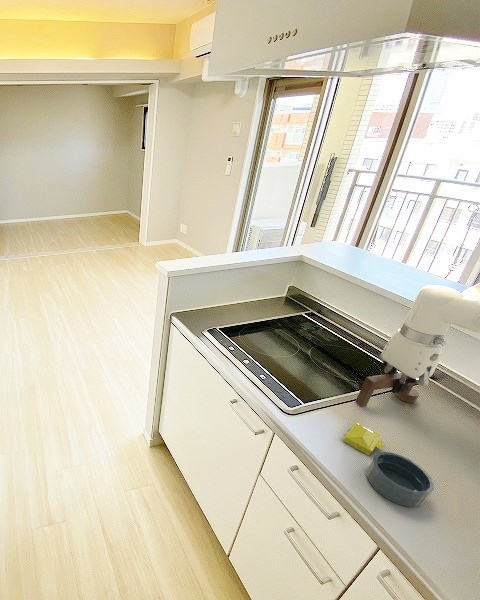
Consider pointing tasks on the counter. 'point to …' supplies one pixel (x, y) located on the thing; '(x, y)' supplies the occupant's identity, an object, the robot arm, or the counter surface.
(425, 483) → the bowl
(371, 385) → the brown drawer pull
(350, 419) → the counter surface
